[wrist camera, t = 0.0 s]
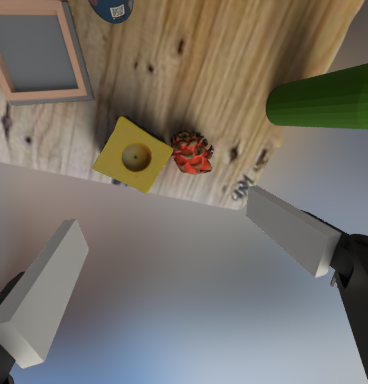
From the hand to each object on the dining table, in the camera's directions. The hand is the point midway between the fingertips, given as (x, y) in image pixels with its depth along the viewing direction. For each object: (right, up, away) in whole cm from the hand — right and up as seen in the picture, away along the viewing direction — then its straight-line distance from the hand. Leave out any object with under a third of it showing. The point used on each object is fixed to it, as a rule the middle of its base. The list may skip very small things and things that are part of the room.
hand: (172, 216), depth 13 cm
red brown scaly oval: (+2, +12, +27) cm, 30 cm away
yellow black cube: (-10, +11, +24) cm, 29 cm away
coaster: (-23, +24, +15) cm, 36 cm away
